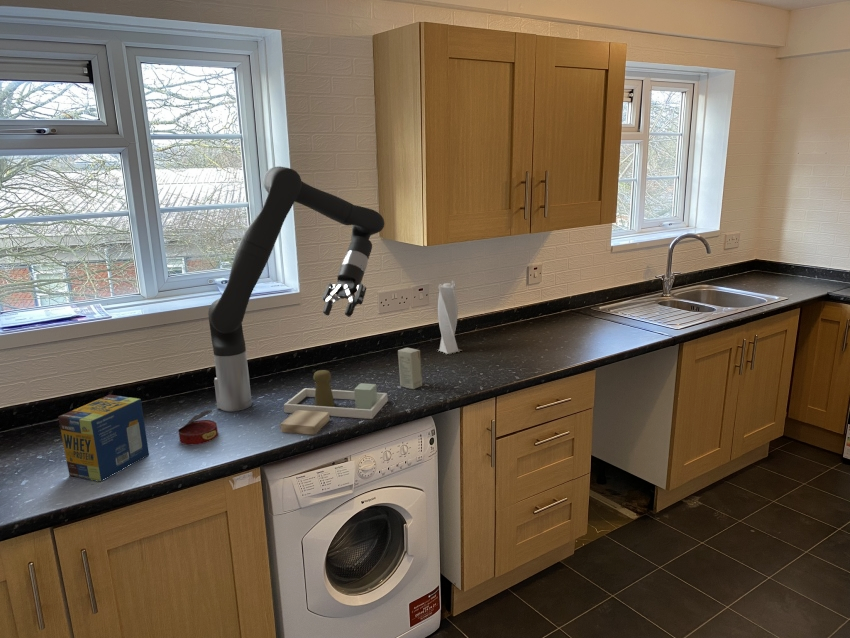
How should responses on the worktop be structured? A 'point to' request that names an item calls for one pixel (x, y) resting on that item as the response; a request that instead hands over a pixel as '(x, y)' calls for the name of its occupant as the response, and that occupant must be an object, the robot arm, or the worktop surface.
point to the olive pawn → (323, 389)
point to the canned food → (198, 430)
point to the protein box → (103, 436)
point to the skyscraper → (447, 318)
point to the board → (305, 422)
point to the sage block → (365, 396)
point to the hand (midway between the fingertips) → (336, 315)
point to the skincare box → (410, 368)
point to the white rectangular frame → (335, 411)
